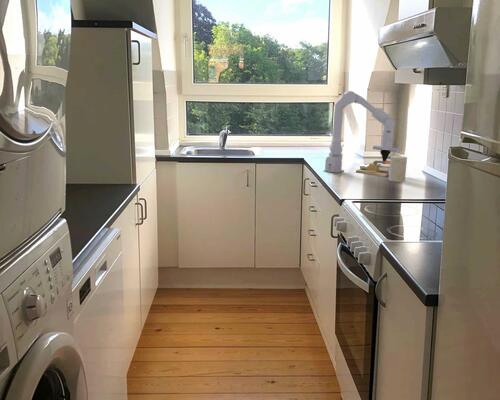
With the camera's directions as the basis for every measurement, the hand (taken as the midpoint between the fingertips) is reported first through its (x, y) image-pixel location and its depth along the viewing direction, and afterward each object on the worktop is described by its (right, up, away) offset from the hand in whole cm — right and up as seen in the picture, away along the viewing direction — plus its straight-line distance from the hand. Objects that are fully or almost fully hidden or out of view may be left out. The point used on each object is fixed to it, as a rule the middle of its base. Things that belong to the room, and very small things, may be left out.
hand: (384, 163), depth 306 cm
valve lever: (-1, 0, -2) cm, 2 cm away
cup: (+1, -10, -20) cm, 22 cm away
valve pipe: (-6, -5, 0) cm, 8 cm away
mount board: (-6, -5, 0) cm, 8 cm away
